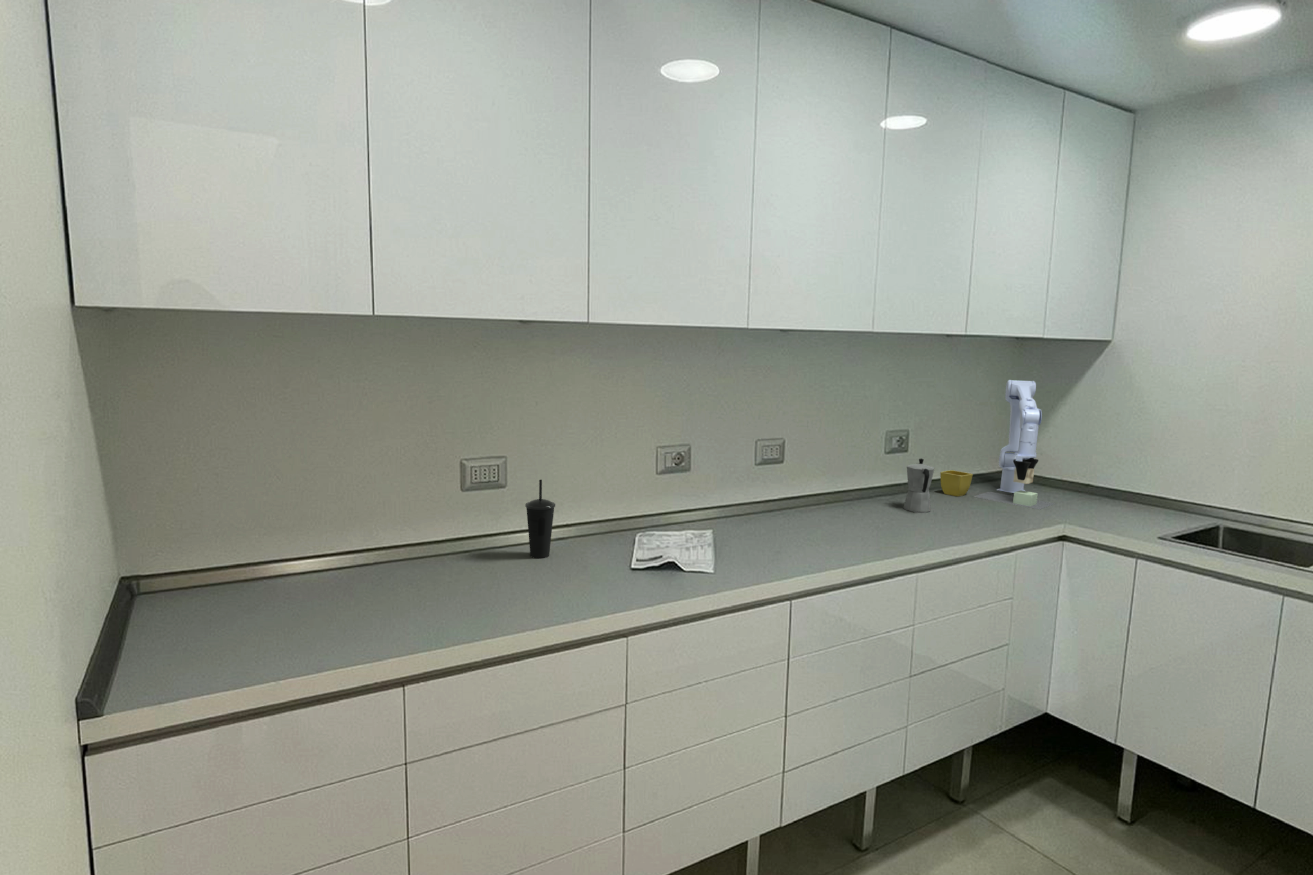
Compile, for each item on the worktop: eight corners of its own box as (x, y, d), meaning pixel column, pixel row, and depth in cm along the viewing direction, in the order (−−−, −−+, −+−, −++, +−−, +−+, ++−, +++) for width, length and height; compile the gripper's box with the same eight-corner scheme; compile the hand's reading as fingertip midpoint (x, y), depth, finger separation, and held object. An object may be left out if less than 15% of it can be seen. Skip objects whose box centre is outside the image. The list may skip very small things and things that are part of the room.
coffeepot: (898, 504, 258) (902, 454, 256) (925, 505, 258) (929, 455, 255) (909, 514, 243) (914, 462, 240) (938, 516, 242) (943, 463, 240)
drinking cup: (560, 554, 188) (561, 479, 185) (541, 561, 182) (542, 484, 179) (538, 549, 192) (538, 475, 189) (518, 556, 186) (519, 480, 183)
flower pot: (949, 492, 282) (951, 469, 280) (971, 496, 275) (973, 473, 274) (937, 495, 276) (939, 471, 275) (959, 499, 269) (961, 475, 268)
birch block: (1018, 480, 267) (1019, 466, 267) (1032, 482, 264) (1034, 468, 263) (1013, 481, 264) (1014, 468, 263) (1027, 483, 260) (1029, 470, 260)
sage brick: (1019, 500, 268) (1020, 490, 267) (1036, 504, 263) (1037, 493, 263) (1012, 503, 264) (1014, 492, 263) (1030, 506, 259) (1031, 495, 259)
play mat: (989, 493, 282) (989, 491, 282) (1055, 505, 265) (1055, 503, 265) (972, 498, 272) (972, 496, 272) (1039, 511, 255) (1040, 509, 255)
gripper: (1023, 439, 269) (1020, 474, 271) (1008, 442, 260) (1004, 479, 261) (1044, 441, 264) (1040, 478, 266) (1029, 444, 254) (1025, 482, 256)
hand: (1023, 478), depth 264 cm, fingers closed on birch block, 5 cm apart
